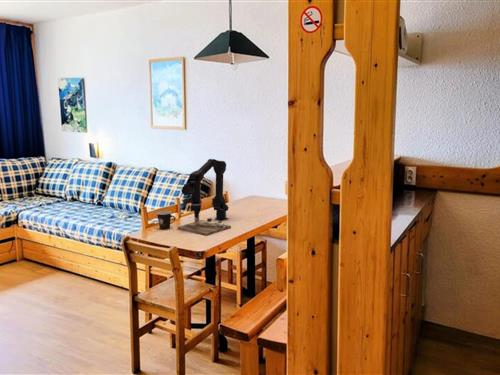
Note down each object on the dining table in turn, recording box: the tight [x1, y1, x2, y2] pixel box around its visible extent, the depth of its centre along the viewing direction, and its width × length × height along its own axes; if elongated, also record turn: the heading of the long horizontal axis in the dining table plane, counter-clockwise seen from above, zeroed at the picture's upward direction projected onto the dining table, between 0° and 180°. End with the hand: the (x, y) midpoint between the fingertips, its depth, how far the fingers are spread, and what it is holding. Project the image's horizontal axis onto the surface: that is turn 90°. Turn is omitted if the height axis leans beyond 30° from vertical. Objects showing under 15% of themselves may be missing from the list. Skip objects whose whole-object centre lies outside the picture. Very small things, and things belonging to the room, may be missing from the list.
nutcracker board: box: [177, 217, 232, 237], centre depth 276 cm, size 21×26×4 cm
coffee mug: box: [156, 210, 176, 231], centre depth 278 cm, size 12×9×10 cm
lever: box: [193, 212, 225, 227], centre depth 274 cm, size 20×4×8 cm, turn 69°
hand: (196, 217), depth 278 cm, fingers open, 3 cm apart
